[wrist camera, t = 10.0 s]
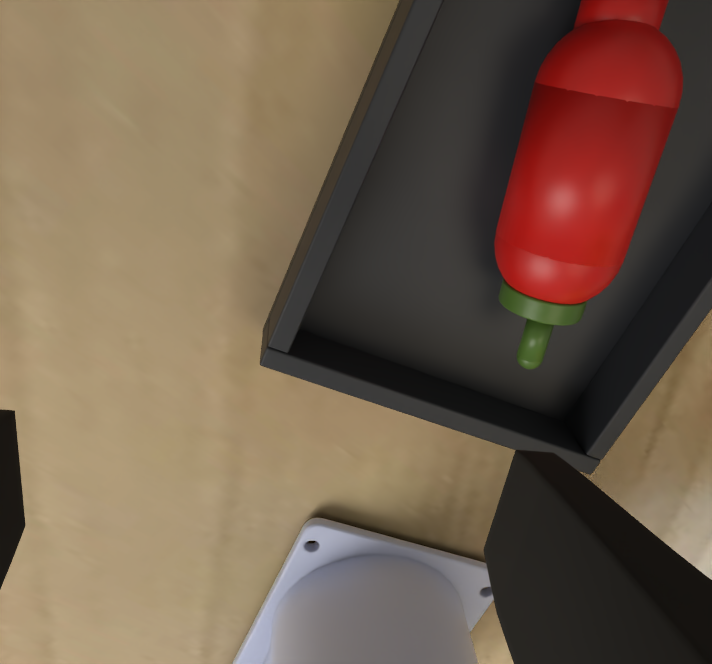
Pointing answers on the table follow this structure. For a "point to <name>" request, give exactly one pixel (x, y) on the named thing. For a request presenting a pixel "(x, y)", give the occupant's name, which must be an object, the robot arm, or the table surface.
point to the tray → (488, 241)
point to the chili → (585, 164)
